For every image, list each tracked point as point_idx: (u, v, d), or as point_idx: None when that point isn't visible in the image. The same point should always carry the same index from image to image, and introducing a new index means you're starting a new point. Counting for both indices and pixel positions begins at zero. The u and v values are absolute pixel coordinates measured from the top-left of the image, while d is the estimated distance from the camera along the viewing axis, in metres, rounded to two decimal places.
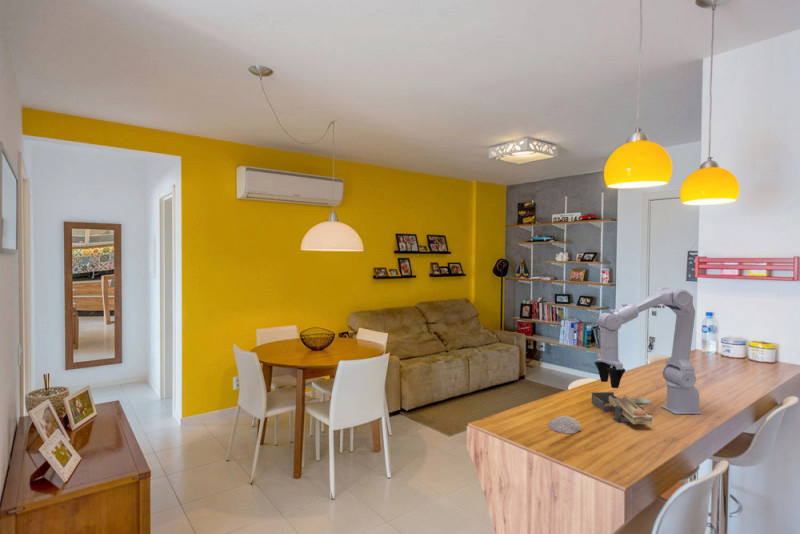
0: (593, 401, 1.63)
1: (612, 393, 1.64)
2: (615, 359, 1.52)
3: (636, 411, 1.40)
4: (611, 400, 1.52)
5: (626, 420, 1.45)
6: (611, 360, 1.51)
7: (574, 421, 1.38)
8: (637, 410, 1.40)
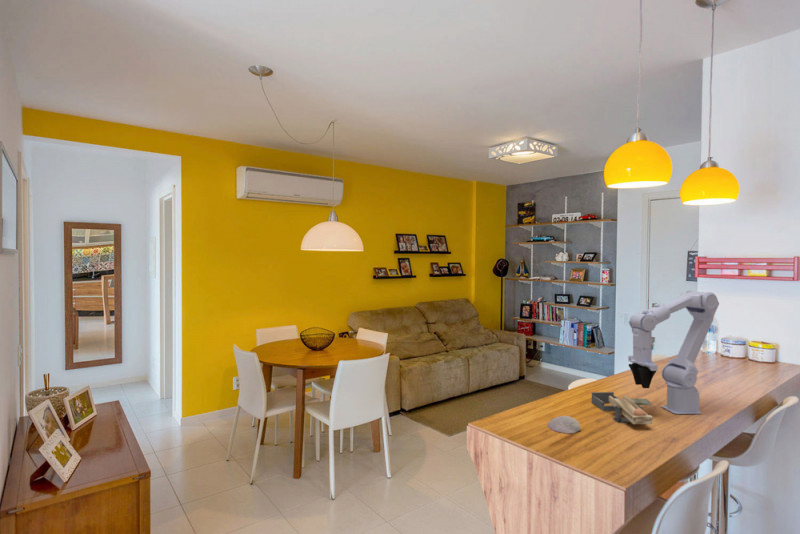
0: (593, 401, 1.63)
1: (612, 393, 1.64)
2: (648, 360, 1.49)
3: (636, 411, 1.40)
4: (611, 400, 1.52)
5: (626, 420, 1.45)
6: (645, 361, 1.49)
7: (574, 421, 1.38)
8: (637, 410, 1.40)
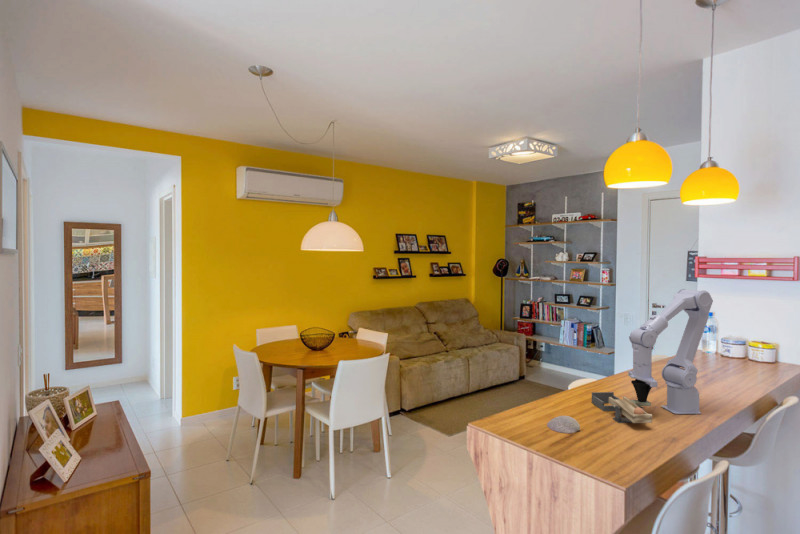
0: (593, 401, 1.63)
1: (612, 393, 1.64)
2: (648, 376, 1.49)
3: (636, 410, 1.40)
4: (611, 401, 1.52)
5: (626, 420, 1.45)
6: (645, 377, 1.49)
7: (573, 421, 1.38)
8: (637, 409, 1.40)
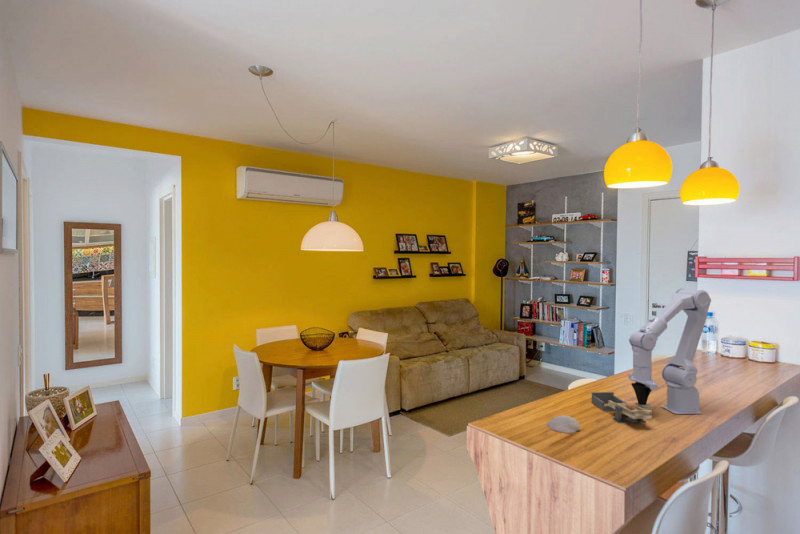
0: (593, 401, 1.63)
1: (612, 393, 1.64)
2: (648, 378, 1.49)
3: None
4: (611, 404, 1.52)
5: (626, 420, 1.45)
6: (645, 380, 1.49)
7: (573, 420, 1.38)
8: (627, 408, 1.46)
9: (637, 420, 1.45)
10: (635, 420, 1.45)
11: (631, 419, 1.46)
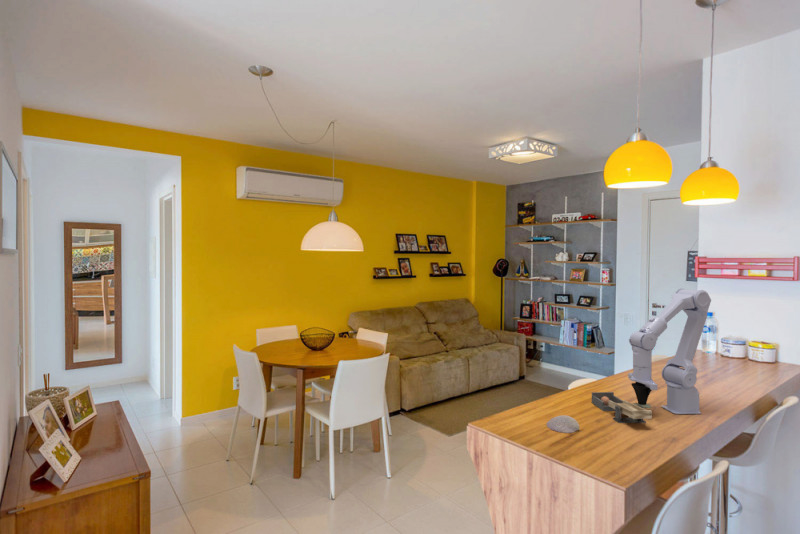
0: (593, 401, 1.63)
1: (612, 393, 1.64)
2: (648, 378, 1.49)
3: None
4: (611, 404, 1.52)
5: (626, 420, 1.45)
6: (645, 380, 1.49)
7: (572, 420, 1.39)
8: None
9: (637, 420, 1.45)
10: (635, 420, 1.45)
11: (631, 419, 1.46)
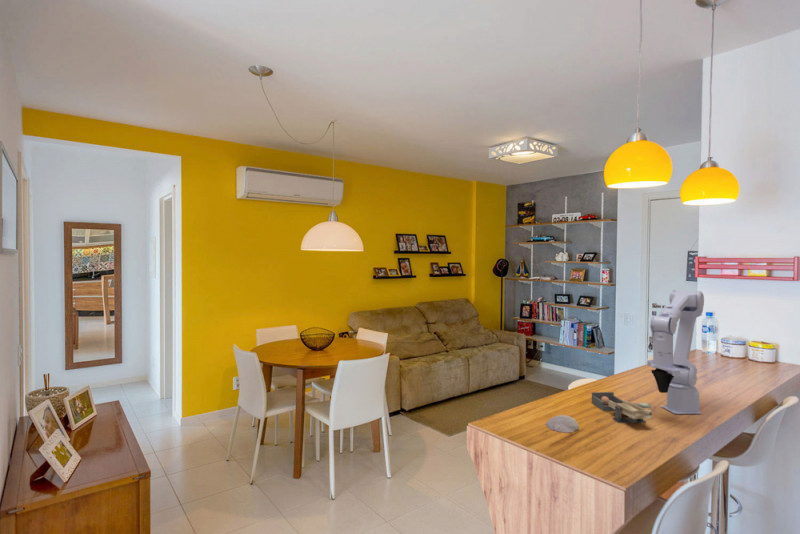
0: (593, 401, 1.63)
1: (612, 393, 1.64)
2: (670, 365, 1.42)
3: None
4: (611, 404, 1.52)
5: (626, 420, 1.45)
6: (666, 366, 1.42)
7: (572, 420, 1.39)
8: None
9: (637, 420, 1.45)
10: (635, 420, 1.45)
11: (631, 419, 1.46)
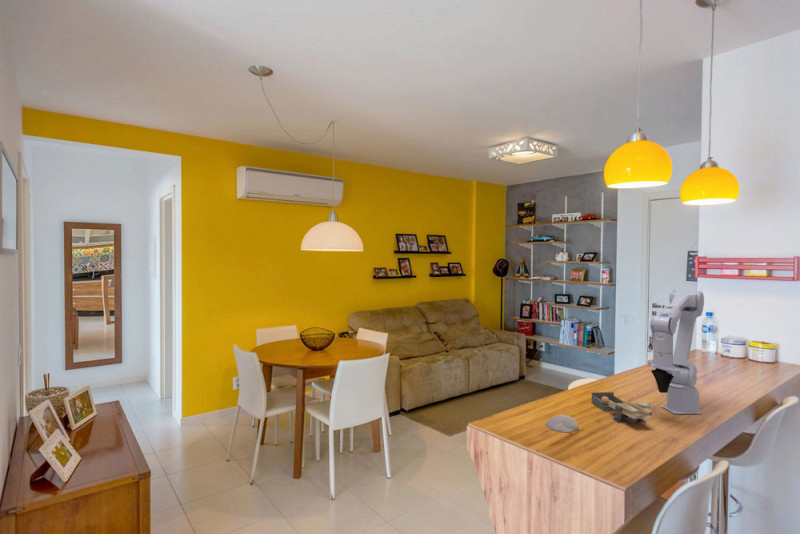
0: (593, 401, 1.63)
1: (612, 393, 1.64)
2: (670, 365, 1.42)
3: None
4: (611, 404, 1.52)
5: (626, 420, 1.45)
6: (666, 366, 1.42)
7: (572, 420, 1.39)
8: None
9: (637, 420, 1.45)
10: (635, 420, 1.45)
11: (631, 419, 1.46)
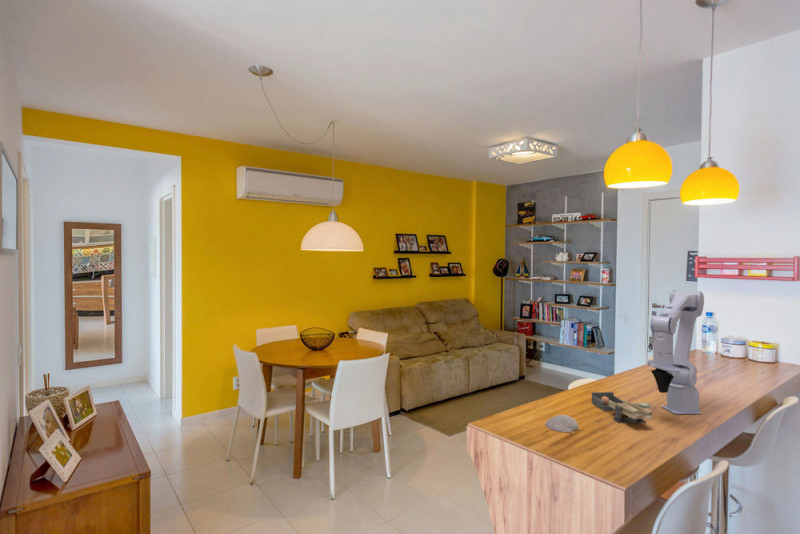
0: (593, 401, 1.63)
1: (612, 393, 1.64)
2: (670, 365, 1.42)
3: None
4: (611, 404, 1.52)
5: (626, 420, 1.45)
6: (666, 366, 1.42)
7: (571, 420, 1.39)
8: None
9: (637, 420, 1.45)
10: (635, 420, 1.45)
11: (631, 419, 1.46)
